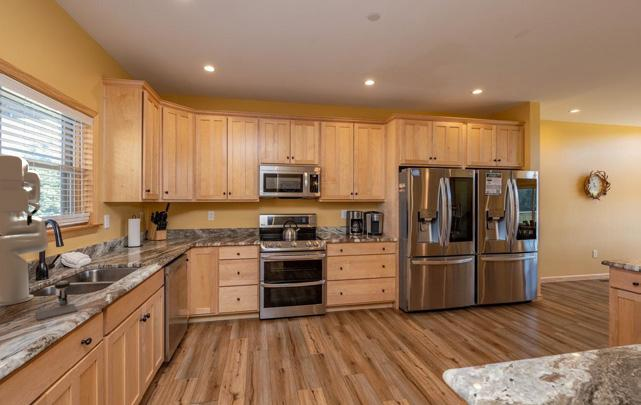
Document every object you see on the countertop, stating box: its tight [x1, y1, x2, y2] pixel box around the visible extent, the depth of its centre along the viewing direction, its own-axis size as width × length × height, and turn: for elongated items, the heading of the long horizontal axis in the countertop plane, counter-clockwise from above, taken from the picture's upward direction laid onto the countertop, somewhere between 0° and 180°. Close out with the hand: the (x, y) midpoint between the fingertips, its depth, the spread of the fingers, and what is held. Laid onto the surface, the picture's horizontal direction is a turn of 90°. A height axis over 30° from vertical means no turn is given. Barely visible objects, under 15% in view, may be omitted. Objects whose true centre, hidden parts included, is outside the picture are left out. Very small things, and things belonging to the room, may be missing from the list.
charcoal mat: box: [35, 303, 79, 322], centre depth 117 cm, size 12×12×1 cm
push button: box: [54, 280, 71, 306], centre depth 128 cm, size 7×5×10 cm
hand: (11, 226), depth 117 cm, fingers open, 9 cm apart
